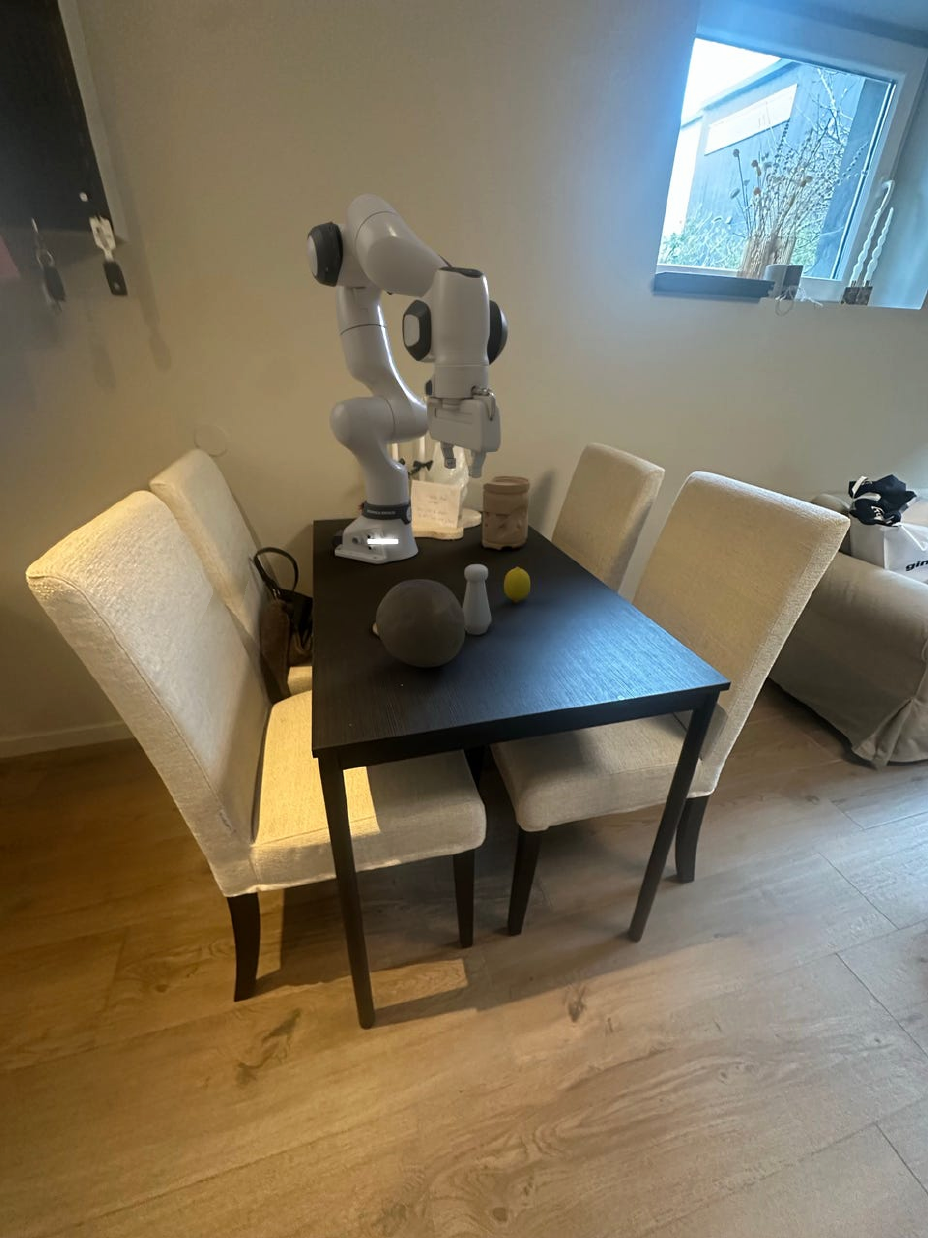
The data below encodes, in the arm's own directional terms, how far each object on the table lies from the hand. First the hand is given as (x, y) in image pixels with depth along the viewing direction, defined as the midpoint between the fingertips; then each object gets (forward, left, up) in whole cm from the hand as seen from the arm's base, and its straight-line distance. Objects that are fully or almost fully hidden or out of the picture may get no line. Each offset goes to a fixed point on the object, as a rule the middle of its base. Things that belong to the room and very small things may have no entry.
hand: (462, 472), depth 87 cm
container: (-2, +47, -29) cm, 55 cm away
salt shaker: (+4, -4, -29) cm, 29 cm away
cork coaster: (-11, -8, -29) cm, 32 cm away
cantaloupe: (-1, -19, -29) cm, 34 cm away
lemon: (+9, +10, -29) cm, 32 cm away
